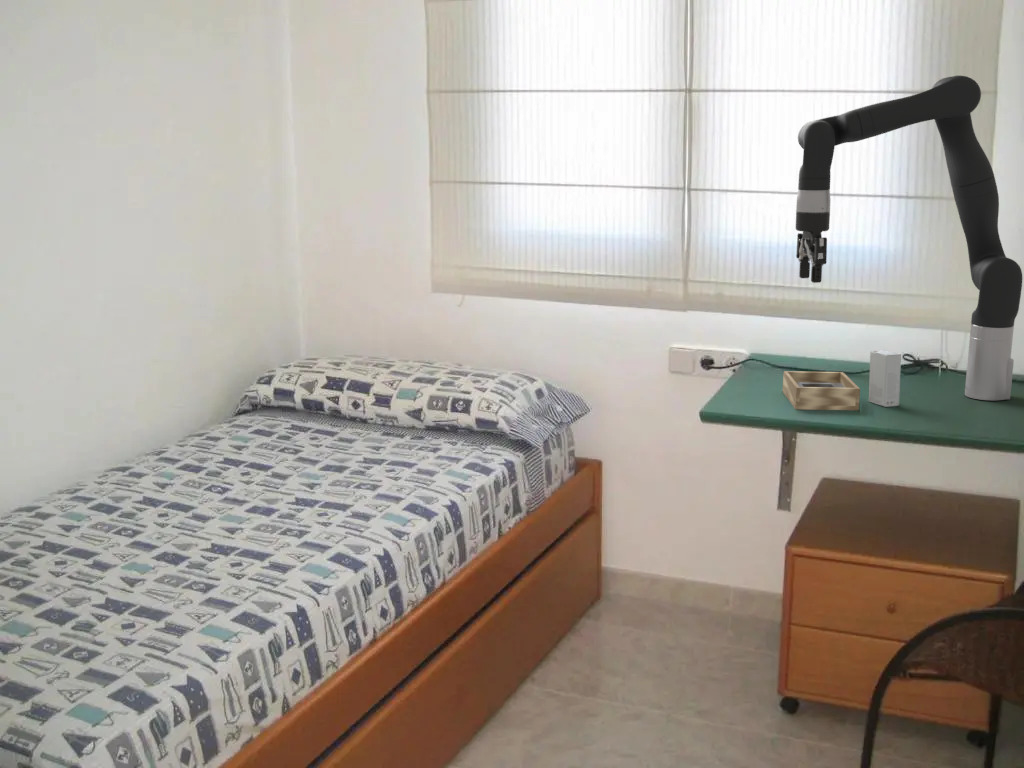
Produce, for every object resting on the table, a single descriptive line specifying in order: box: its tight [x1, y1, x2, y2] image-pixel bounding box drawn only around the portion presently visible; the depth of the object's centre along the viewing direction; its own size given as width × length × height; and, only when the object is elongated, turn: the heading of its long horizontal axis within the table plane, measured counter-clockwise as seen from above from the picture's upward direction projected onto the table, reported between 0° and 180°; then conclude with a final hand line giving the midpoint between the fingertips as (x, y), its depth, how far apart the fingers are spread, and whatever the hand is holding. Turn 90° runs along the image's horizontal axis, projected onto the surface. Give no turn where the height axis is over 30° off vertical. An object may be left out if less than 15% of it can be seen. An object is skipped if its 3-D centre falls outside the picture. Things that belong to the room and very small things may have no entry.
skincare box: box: [868, 349, 902, 408], centre depth 256 cm, size 6×4×12 cm
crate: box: [782, 370, 861, 411], centre depth 260 cm, size 14×18×5 cm
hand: (810, 280), depth 261 cm, fingers open, 8 cm apart
